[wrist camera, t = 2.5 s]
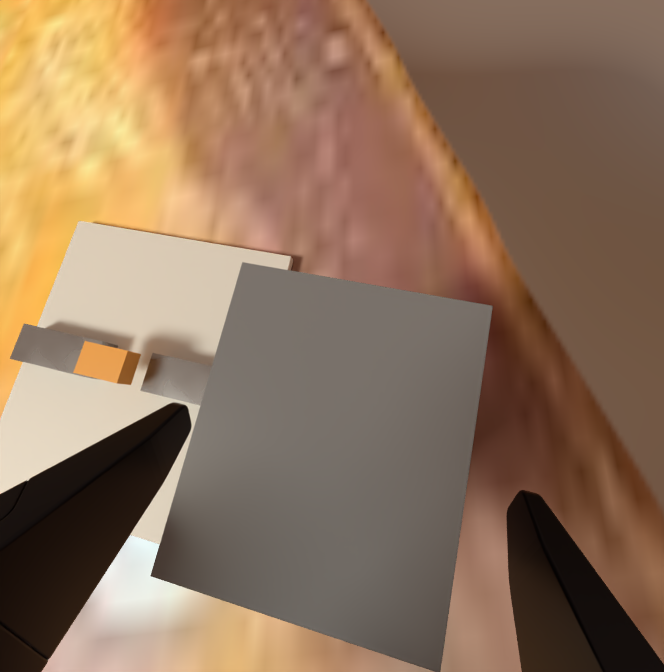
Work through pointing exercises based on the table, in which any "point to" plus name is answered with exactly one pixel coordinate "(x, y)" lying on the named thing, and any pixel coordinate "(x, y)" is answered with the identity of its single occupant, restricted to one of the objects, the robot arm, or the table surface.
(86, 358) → the block
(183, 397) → the din rail
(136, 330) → the board
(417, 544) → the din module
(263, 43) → the table surface
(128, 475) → the robot arm
